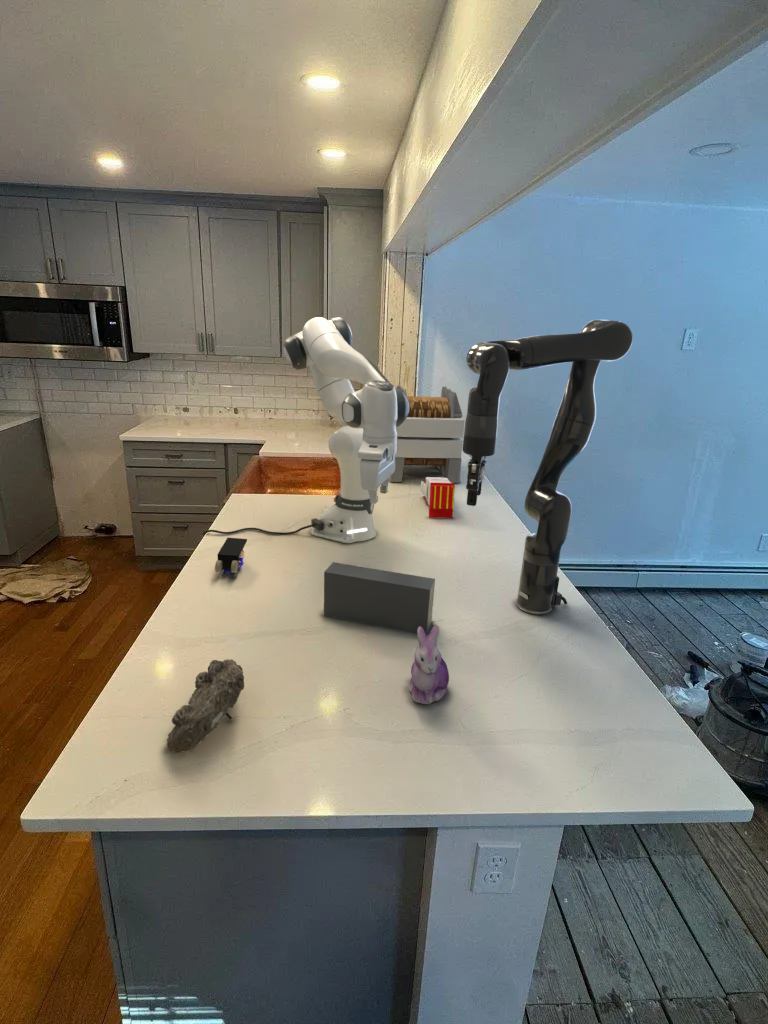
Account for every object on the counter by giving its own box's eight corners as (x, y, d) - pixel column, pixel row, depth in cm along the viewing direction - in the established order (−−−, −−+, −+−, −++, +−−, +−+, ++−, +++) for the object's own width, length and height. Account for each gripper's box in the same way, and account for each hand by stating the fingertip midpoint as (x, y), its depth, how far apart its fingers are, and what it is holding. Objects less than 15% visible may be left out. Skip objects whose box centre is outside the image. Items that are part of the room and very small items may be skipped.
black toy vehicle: (238, 584, 162) (249, 557, 175) (236, 562, 158) (247, 536, 172) (215, 584, 161) (227, 556, 175) (212, 561, 158) (225, 535, 171)
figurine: (421, 712, 112) (426, 647, 106) (396, 683, 120) (400, 621, 115) (461, 699, 116) (467, 636, 111) (434, 672, 124) (439, 611, 119)
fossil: (192, 660, 117) (244, 628, 112) (224, 691, 120) (276, 661, 115) (142, 746, 98) (202, 712, 93) (182, 779, 101) (242, 748, 96)
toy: (448, 473, 241) (459, 484, 212) (446, 504, 244) (457, 519, 215) (419, 472, 241) (426, 483, 211) (418, 503, 243) (425, 518, 214)
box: (323, 614, 145) (324, 571, 141) (332, 603, 151) (332, 562, 147) (426, 634, 139) (430, 589, 135) (431, 622, 144) (435, 578, 140)
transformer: (382, 463, 289) (386, 382, 275) (445, 464, 293) (451, 384, 279) (390, 482, 257) (394, 392, 243) (460, 483, 261) (468, 394, 247)
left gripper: (379, 437, 156) (378, 486, 160) (355, 453, 137) (355, 507, 141) (401, 439, 154) (400, 488, 159) (380, 455, 135) (380, 510, 140)
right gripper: (493, 441, 123) (486, 511, 129) (499, 429, 136) (492, 493, 142) (459, 437, 125) (453, 506, 130) (468, 426, 138) (462, 489, 143)
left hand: (379, 497), depth 150 cm, fingers open, 8 cm apart
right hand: (473, 499), depth 136 cm, fingers open, 8 cm apart
